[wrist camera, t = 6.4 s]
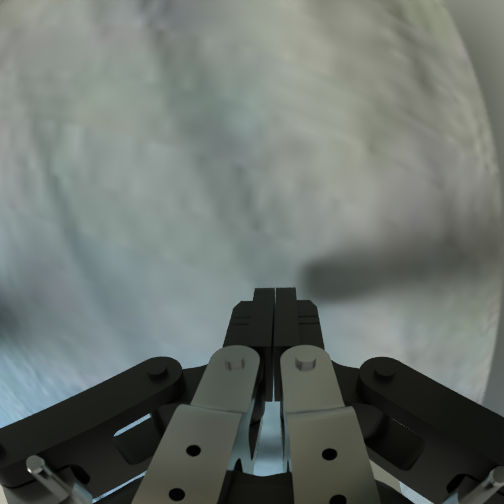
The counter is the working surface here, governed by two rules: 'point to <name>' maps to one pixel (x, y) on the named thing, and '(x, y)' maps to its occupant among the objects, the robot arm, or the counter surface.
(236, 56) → the counter surface
